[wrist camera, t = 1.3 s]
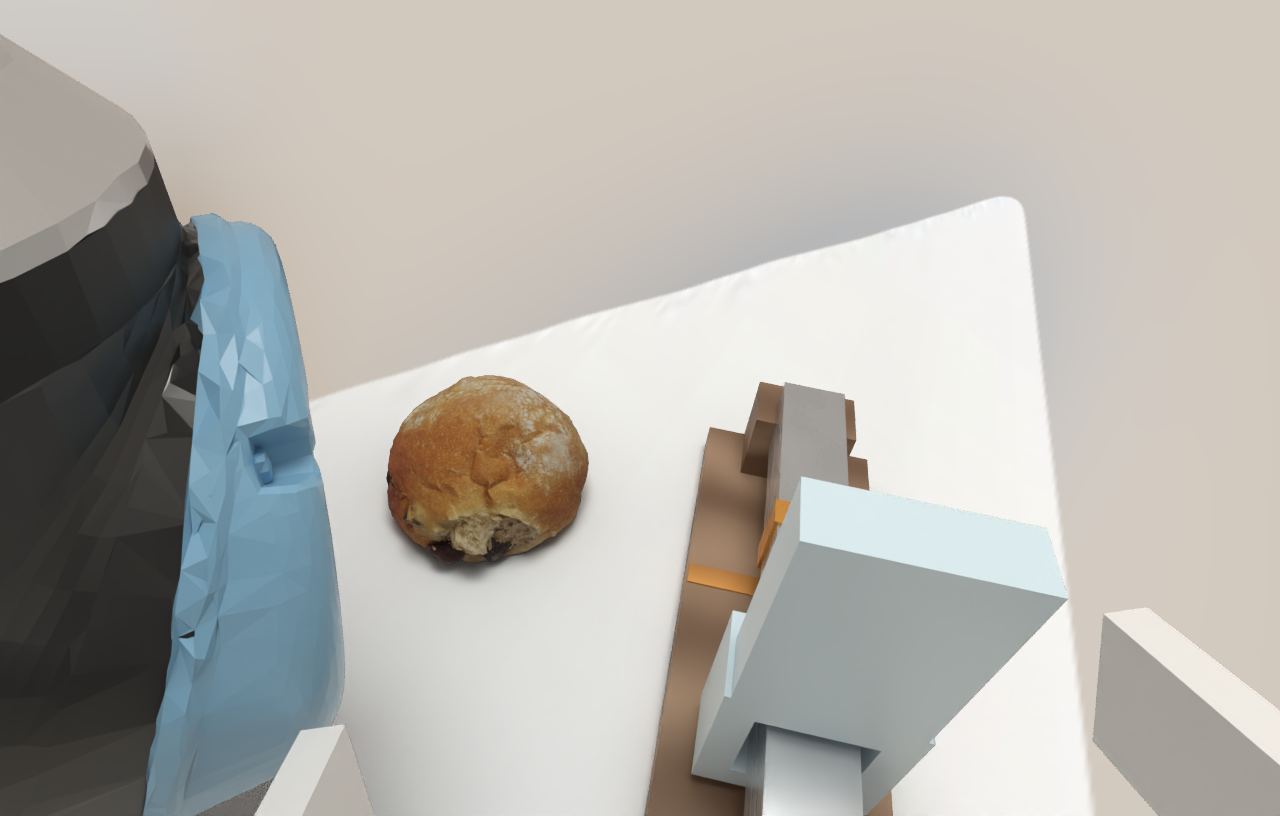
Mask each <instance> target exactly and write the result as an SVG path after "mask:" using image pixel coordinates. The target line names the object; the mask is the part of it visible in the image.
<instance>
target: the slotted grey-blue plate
mask: <svg viewBox="0 0 1280 816" xmlns="http://www.w3.org/2000/svg"><path fill="white" fill-rule="evenodd" d="M1067 600H1068V596H1067V593H1066V590H1065V586H1064V583H1063V580H1062V576H1061V573H1060V570H1059V567H1058V563H1057V560H1056V557H1055V553H1054V550H1053V547H1052V543H1051V540H1050V537H1049V534H1048V530H1047V528H1045V527H1040V526H1035V525H1030V524H1026V523H1021V522H1016V521H1011V520H1007V519H1002V518H997V517H992V516H988V515H983V514H978V513H973V512H968V511H964V510H959V509H954V508H949V507H945V506H940V505H935V504H930V503H926V502H921V501H916V500H911V499H907V498H902V497H897V496H892V495H888V494H883V493H878V492H873V491H869V490H864V489H859V488H854V487H850V486H845V485H840V484H835V483H830V482H826V481H821V480H816V479H811V478H807V477H802V476H801V478H800V480H799V483H798V485H797V488H796V490H795V493H794V495H793V498H792V500H791V503H790V505H789V508H788V510H787V513H786V515H785V518H784V520H783V523H782V525H781V528H780V530H779V533H778V535H777V538H776V540H775V543H774V545H773V548H772V550H771V553H770V555H769V558H768V560H767V563H766V565H765V568H764V570H763V573H762V575H761V578H760V580H759V583H758V585H757V588H756V590H755V593H754V595H753V598H752V600H751V603H750V605H749V608H748V610H747V613H743V612H738V611H734V610H733V611H732V614H731V617H730V619H729V622H728V625H727V627H726V630H725V633H724V635H723V638H722V641H721V643H720V646H719V649H718V652H717V654H716V657H715V660H714V662H713V665H712V668H711V670H710V673H709V676H708V678H707V681H706V684H705V686H704V689H703V692H702V694H701V700H700V708H699V716H698V724H697V732H696V740H695V748H694V756H693V764H692V772H691V774H693V775H698V776H702V777H706V778H710V779H714V780H719V781H723V782H727V783H731V784H735V785H740V786H744V787H746V774H747V760H748V745H749V732H750V730H751V728H752V726H753V724H754V722H758V723H762V724H767V725H771V726H775V727H780V728H784V729H788V730H793V731H797V732H801V733H805V734H810V735H814V736H818V737H823V738H827V739H831V740H836V741H840V742H844V743H848V744H853V745H857V746H860V753H861V776H862V798H863V815H865V816H866V815H867V814H868V813H869V812H870V811H871V810H872V809H873V808H874V807H875V806H876V805H877V804H878V803H879V802H880V801H881V800H882V799H883V798H884V797H885V796H886V795H887V794H888V792H889V791H890V790H891V789H892V788H893V787H894V786H895V785H896V784H897V783H898V782H899V781H900V780H901V779H902V778H903V777H904V776H905V775H906V774H907V773H908V772H909V771H910V770H911V769H912V768H913V767H914V766H915V765H916V764H917V763H918V762H919V761H920V760H921V759H922V758H923V757H924V756H925V755H926V754H927V753H928V752H929V751H930V750H931V749H932V748H933V747H934V746H935V736H936V735H937V734H938V733H939V732H940V731H941V730H942V729H943V728H944V727H945V726H946V725H947V724H948V723H949V722H950V721H951V720H952V719H953V718H954V717H955V716H956V715H957V713H958V712H959V711H960V710H961V709H962V708H963V707H964V706H965V705H966V704H967V703H968V702H969V701H970V700H971V699H972V698H973V697H974V696H975V695H976V694H977V693H978V692H979V691H980V690H981V689H982V688H983V687H984V686H985V684H986V683H987V682H988V681H989V680H990V679H991V678H992V677H993V676H994V675H995V674H996V673H997V672H998V671H999V670H1000V669H1001V668H1002V667H1003V666H1004V665H1005V664H1006V663H1007V662H1008V661H1009V660H1010V659H1011V658H1012V657H1013V655H1014V654H1015V653H1016V652H1017V651H1018V650H1019V649H1020V648H1021V647H1022V646H1023V645H1024V644H1025V643H1026V642H1027V641H1028V640H1029V639H1030V638H1031V637H1032V636H1033V635H1034V634H1035V633H1036V632H1037V631H1038V630H1039V629H1040V627H1041V626H1042V625H1043V624H1044V623H1045V622H1046V621H1047V620H1048V619H1049V618H1050V617H1051V616H1052V615H1053V614H1054V613H1055V612H1056V611H1057V610H1058V609H1059V608H1060V607H1061V606H1062V605H1063V604H1064V603H1065V602H1066V601H1067Z"/></svg>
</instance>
